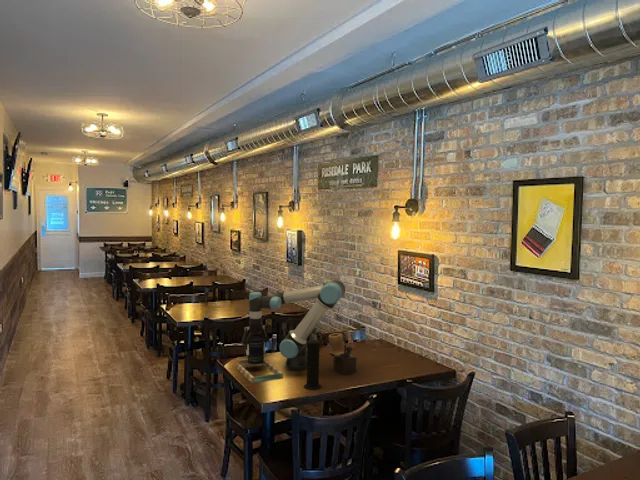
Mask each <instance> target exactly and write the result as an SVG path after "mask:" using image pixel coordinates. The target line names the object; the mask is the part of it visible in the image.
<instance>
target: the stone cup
mask: <svg viewBox="0 0 640 480" xmlns="http://www.w3.org/2000/svg"><path fill="white" fill-rule="evenodd" d="M328 342H329V345H330V346H331V350H330V351H329V354H331V355H333V356H335V355H340V354H342V353H344V335H343V334H342V333H340V332H339V333H338V332H336V333H335V332H334V333H331V334H329V335H328ZM350 355H352V353H351V354H350Z"/></svg>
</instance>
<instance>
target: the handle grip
mask: <svg viewBox="0 0 640 480" xmlns="http://www.w3.org/2000/svg"><path fill="white" fill-rule="evenodd" d="M319 379H320V341H319V340H316V339H311V340H307V369H306V383H305V384H304V385H303V388H304V389H306V390H307V391H317V390H321V389H322V385H321V384H320V383H319V381H320V380H319Z"/></svg>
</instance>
